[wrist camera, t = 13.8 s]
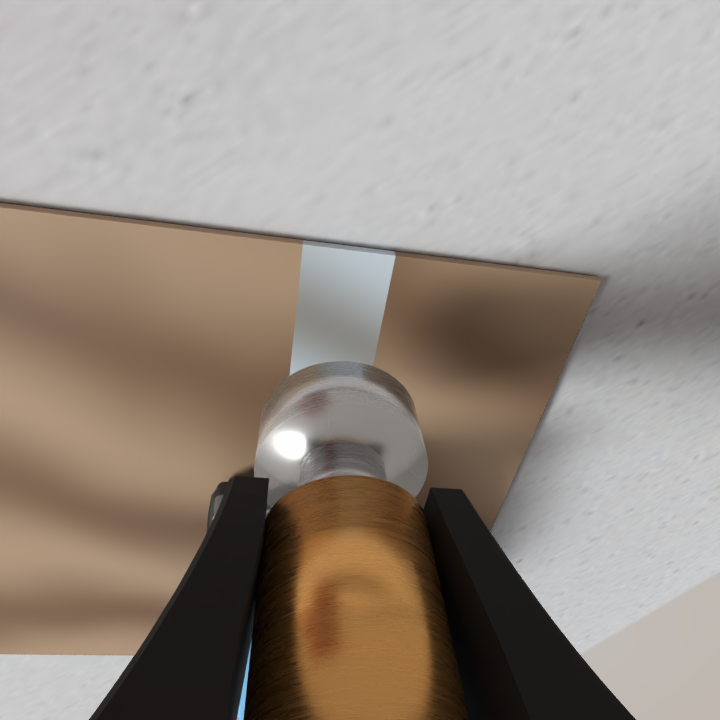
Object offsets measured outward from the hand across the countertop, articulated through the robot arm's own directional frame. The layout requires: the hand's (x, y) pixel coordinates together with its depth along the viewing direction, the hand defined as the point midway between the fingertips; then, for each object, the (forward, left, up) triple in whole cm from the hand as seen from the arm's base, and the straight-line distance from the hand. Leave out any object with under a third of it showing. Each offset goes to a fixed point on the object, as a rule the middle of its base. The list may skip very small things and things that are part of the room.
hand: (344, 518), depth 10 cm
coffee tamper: (0, 0, -3) cm, 3 cm away
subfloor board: (-7, +5, -6) cm, 11 cm away
